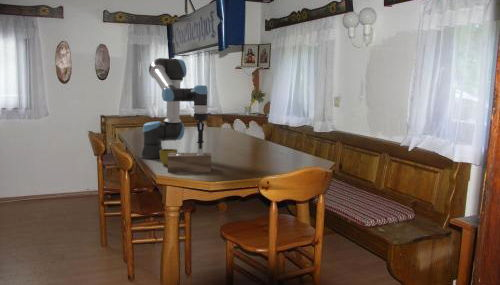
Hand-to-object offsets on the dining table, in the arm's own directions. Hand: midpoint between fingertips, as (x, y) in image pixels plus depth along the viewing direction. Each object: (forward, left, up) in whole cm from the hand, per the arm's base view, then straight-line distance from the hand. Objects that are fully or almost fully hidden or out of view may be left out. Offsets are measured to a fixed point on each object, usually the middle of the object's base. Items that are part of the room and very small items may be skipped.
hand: (200, 154), depth 238 cm
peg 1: (0, -12, -9) cm, 15 cm away
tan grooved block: (0, -6, -9) cm, 11 cm away
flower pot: (-16, -19, -10) cm, 27 cm away
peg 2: (0, 0, -9) cm, 9 cm away
